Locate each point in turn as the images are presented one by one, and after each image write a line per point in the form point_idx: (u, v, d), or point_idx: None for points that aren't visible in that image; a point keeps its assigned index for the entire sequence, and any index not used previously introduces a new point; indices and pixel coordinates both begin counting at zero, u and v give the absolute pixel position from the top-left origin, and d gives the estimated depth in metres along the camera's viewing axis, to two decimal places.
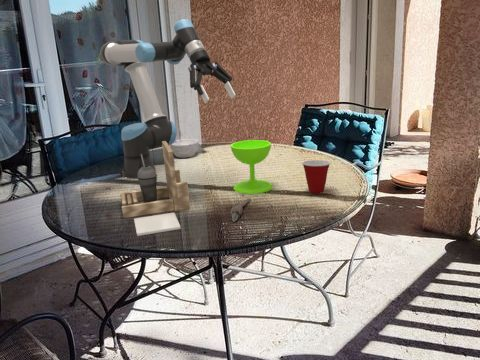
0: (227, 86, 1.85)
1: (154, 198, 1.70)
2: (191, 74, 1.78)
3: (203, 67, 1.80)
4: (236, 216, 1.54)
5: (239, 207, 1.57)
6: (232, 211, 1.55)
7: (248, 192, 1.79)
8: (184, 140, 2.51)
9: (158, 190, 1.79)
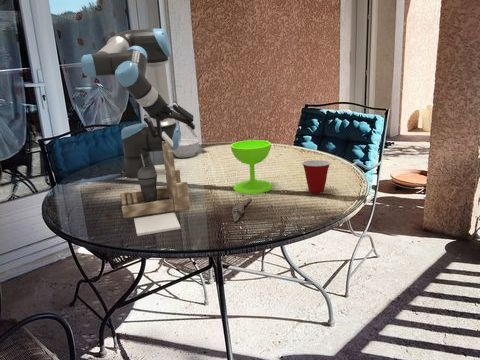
0: None
1: (154, 198, 1.70)
2: None
3: (157, 119, 1.65)
4: (237, 216, 1.54)
5: (240, 207, 1.56)
6: (233, 211, 1.55)
7: (248, 192, 1.79)
8: (184, 140, 2.51)
9: (158, 190, 1.79)
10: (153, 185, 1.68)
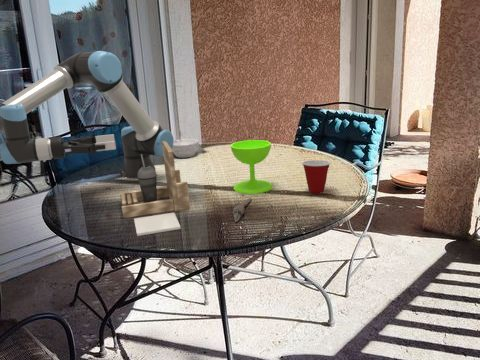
0: None
1: (154, 198, 1.70)
2: None
3: None
4: (238, 216, 1.54)
5: (241, 207, 1.57)
6: (234, 211, 1.55)
7: (248, 192, 1.79)
8: (184, 140, 2.51)
9: (158, 190, 1.79)
10: (153, 185, 1.68)
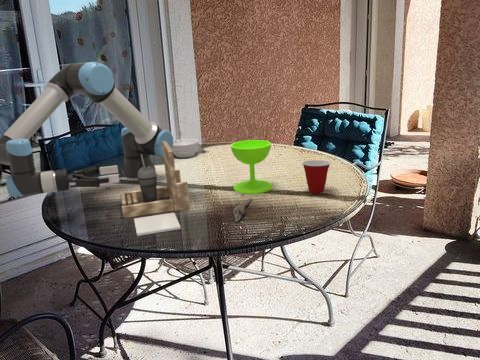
0: None
1: (154, 198, 1.70)
2: None
3: None
4: (239, 216, 1.54)
5: (242, 207, 1.57)
6: (235, 211, 1.55)
7: (248, 192, 1.79)
8: (184, 140, 2.51)
9: (158, 190, 1.79)
10: (153, 185, 1.68)
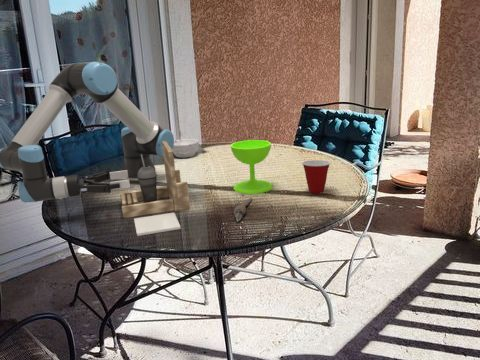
0: None
1: (154, 198, 1.70)
2: None
3: None
4: (240, 216, 1.54)
5: (242, 207, 1.57)
6: (235, 211, 1.55)
7: (248, 192, 1.79)
8: (184, 140, 2.51)
9: (158, 190, 1.79)
10: (153, 185, 1.68)
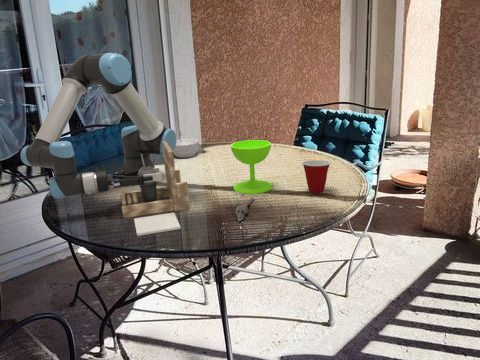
0: None
1: (154, 198, 1.70)
2: None
3: None
4: (242, 215, 1.54)
5: (244, 206, 1.56)
6: (237, 211, 1.55)
7: (248, 192, 1.79)
8: (184, 140, 2.51)
9: (158, 190, 1.79)
10: (153, 185, 1.68)
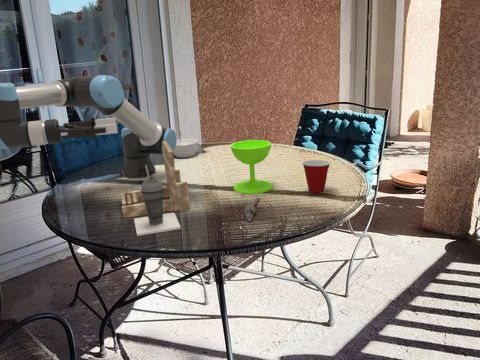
0: None
1: (160, 214, 1.51)
2: None
3: None
4: (251, 215, 1.54)
5: (253, 206, 1.57)
6: (246, 210, 1.55)
7: (248, 192, 1.79)
8: (184, 140, 2.51)
9: None
10: (159, 199, 1.50)
